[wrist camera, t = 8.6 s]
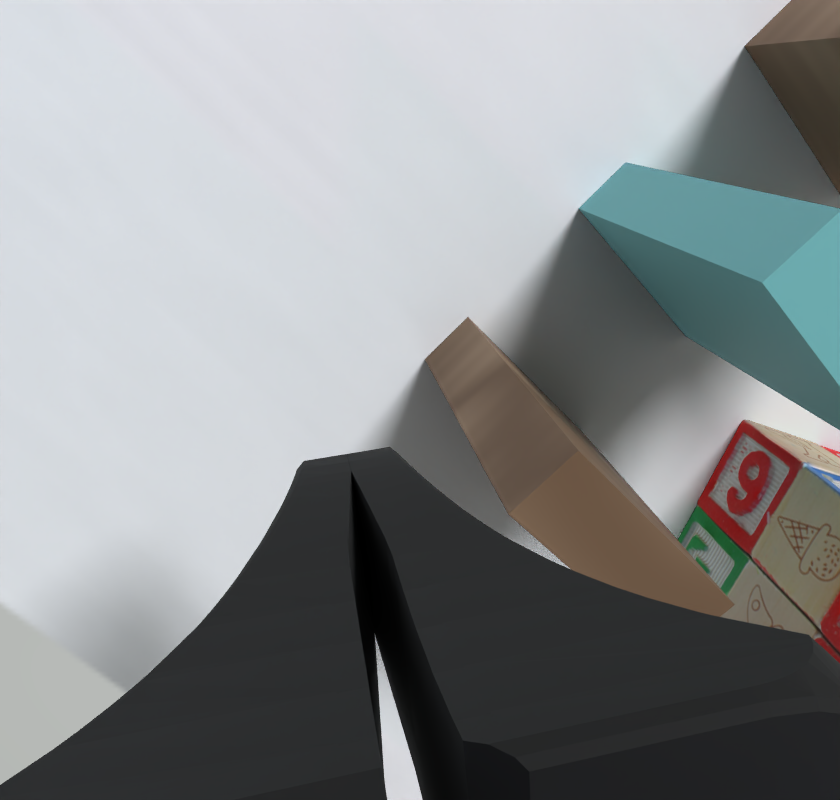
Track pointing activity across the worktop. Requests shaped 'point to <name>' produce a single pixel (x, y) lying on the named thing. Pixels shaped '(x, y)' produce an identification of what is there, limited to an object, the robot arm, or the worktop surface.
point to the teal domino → (735, 274)
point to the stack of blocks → (773, 532)
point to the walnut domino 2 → (806, 73)
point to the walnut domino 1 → (563, 479)
